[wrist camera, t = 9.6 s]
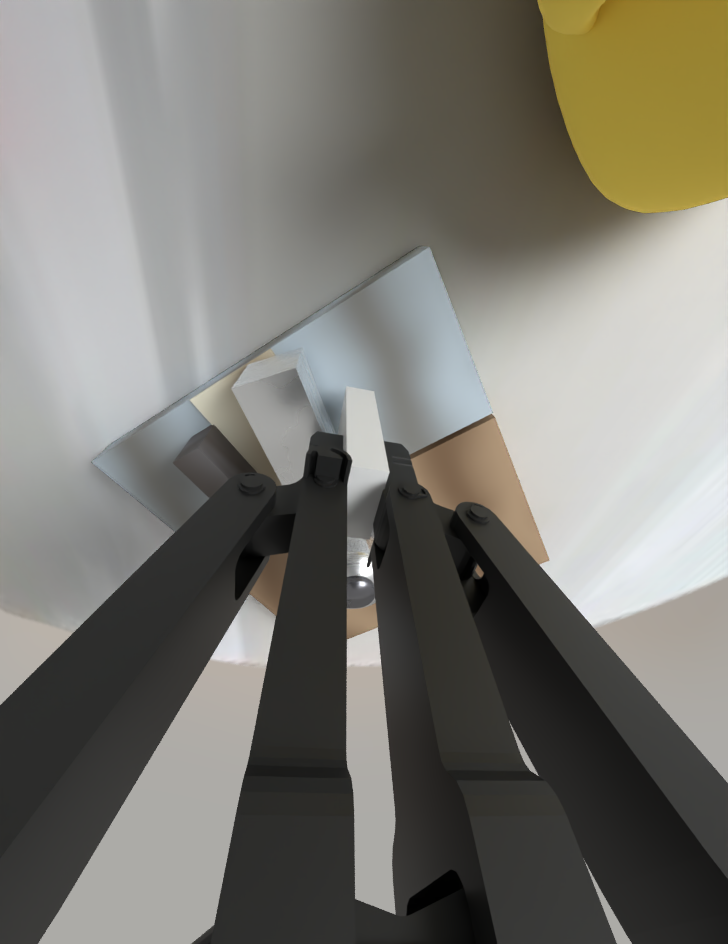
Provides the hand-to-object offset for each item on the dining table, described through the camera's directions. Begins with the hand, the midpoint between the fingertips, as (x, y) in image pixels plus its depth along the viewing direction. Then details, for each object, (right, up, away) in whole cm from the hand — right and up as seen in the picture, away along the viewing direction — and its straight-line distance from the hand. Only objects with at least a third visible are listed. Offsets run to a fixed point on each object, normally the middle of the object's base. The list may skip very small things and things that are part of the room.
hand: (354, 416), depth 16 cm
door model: (0, -5, +7) cm, 9 cm away
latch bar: (-2, -2, +2) cm, 4 cm away
